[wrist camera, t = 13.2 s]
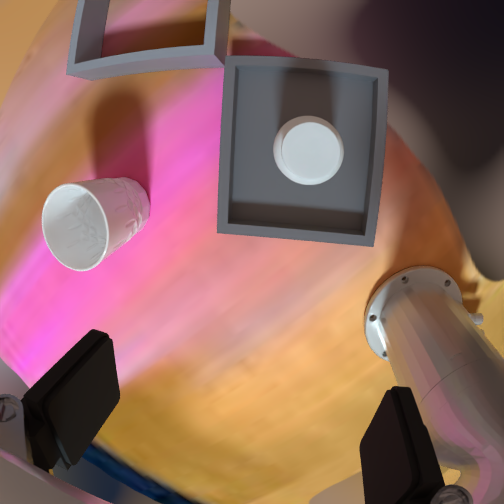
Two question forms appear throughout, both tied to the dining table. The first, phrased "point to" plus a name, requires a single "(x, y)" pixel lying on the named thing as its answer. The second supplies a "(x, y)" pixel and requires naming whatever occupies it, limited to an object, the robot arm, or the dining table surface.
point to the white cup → (93, 219)
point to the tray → (262, 158)
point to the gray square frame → (186, 57)
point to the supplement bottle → (308, 150)
